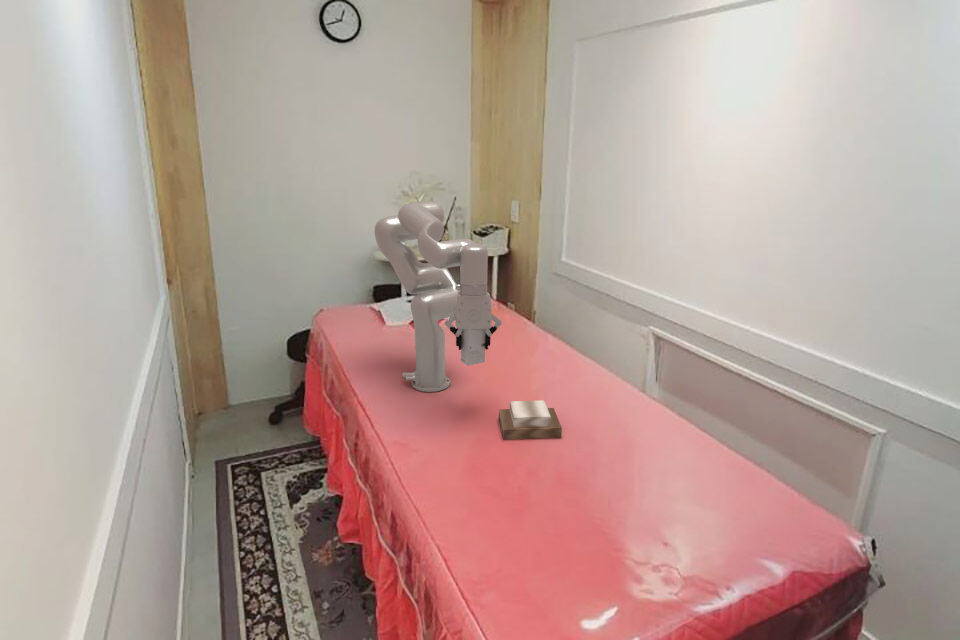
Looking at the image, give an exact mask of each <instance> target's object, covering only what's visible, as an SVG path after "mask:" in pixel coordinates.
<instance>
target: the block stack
mask: <svg viewBox="0 0 960 640" xmlns="http://www.w3.org/2000/svg"><path fill="white" fill-rule="evenodd" d="M498 420H499V426H500V431H501V435H502V439H503V440H531V439H562V434H563V433H562V432H563V431H562V430H563V428H562V427H563V426H562V425H561V423H560V420H559V418H558V415H557V413H556V411H555V408H554V407H548V406H547V403H546V402H545V400H543V399H542V400H541V399H540V400H512V401H511V400H510V401H509V408H504V409H503V408H501V409H498Z"/></svg>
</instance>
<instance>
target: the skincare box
mask: <svg viewBox="0 0 960 640" xmlns="http://www.w3.org/2000/svg"><path fill="white" fill-rule="evenodd" d="M485 336H486V331H485V330H484V329H483V330H472V329H470V326H468V329H467V330H462V332H461V350H460V362H461V363H463V364H464V365H465V366H474V365H478V364H483V363H485V362H486V349H485Z"/></svg>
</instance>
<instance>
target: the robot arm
mask: <svg viewBox="0 0 960 640" xmlns="http://www.w3.org/2000/svg"><path fill="white" fill-rule="evenodd" d="M443 209H444V208H443V207H442V206H441V205H440V204H439V203H438V202H436V201H433V200H430V201H429V200H427V201H415V202H407V203H406V204H404V205H402V206H401V207H400V208H399V210H398V212H397V215H390V216H385V217H382V218H381V219H379V220H378V221H377V222H376V223H375V226H374V237H375V241H376V244H377V246H378V249H379V250H380V252H381V253H382V255H384V257H385V258H386V259H387V260H388V262H389V264H391V266H392V269H393V270H394V272H395V274H396V276H397V278H398V280H399V282H400V284H401V285H402V287H403V288H404V291H406V293H408V294H410V295H413V297H412V299H411V301H410V311H411V315H412V320H413V326H414V327H413V328H414V343H415V345H414V347H415V348H414V349H415V350H414V351H415V370H414V371H412V372H402V379H405V381H406V382H407V381H411V386H412V388H414V389H415V390H417V391H419V392H423V393H435V392H440V391H444V390H446V389H447V388H449V386H450V385H451V379H450V378H449V377H448V376H446V340H445V339H446V337H445V331H444V329H443V327H442V326H441V325H440V323H439V321H440V320H444V319H446V320H445V321H444V325H445V326H446V327H447V329H449V331H450V332H451V333H452V334H454V336H455V346H456V347H458V351H461V332H462V330H467V329H468V326H470V329H472V330H483V329H484V330H485V331H486V336H485V351H486V350H487V351H488V350H489V346H490V347H491V337H492V335H493V334H494V333H495V332H496V331H497V330H498V329H499V328H500V326H501V325H502V324H503V322H502V320H501V319H500V318H498V317H497V316H496V315H494V314H493V313H492V299H491V295H490V293H489V292H488V272H489V271H488V269H489V268H488V267H489V266H488V264H489V263H488V261H489V260H488V258H489V255H488V254H489V252H488V247H487V246H486V245H483V244H481V243H476V242H475V241H474V240H472V239H470V238H459V239H450V240H442V241H440V240H441V239H442V238H443V235H444V231H445V226H444V221H445V212H444V210H443ZM412 240H413V241H414V240H417V247H418V251H419V255H420V256H421V257H422V259H424V261H425V262H426V263H423V262H421V261H420V260H419V259H418V258H419V257H417V255H416V253H415V252H414V251H413V250H412V249H411V248H410V247H409V246H407V245H405V244H404V243H403V242H406V241H412ZM401 242H402V243H401ZM455 267H459V268H460V269H459V270H460V271H459V274H460V275H459V276H460V277H459V280H460V281H459V283H458V284H457V283H456V281H455V279H454V277H453V276H452V274H451V272H450V271H449V268H455ZM414 295H415V296H414ZM454 321H455V326H456V327H455V326H454V325H453V324H452V323H454ZM492 322H494V324H493V325H492Z"/></svg>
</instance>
